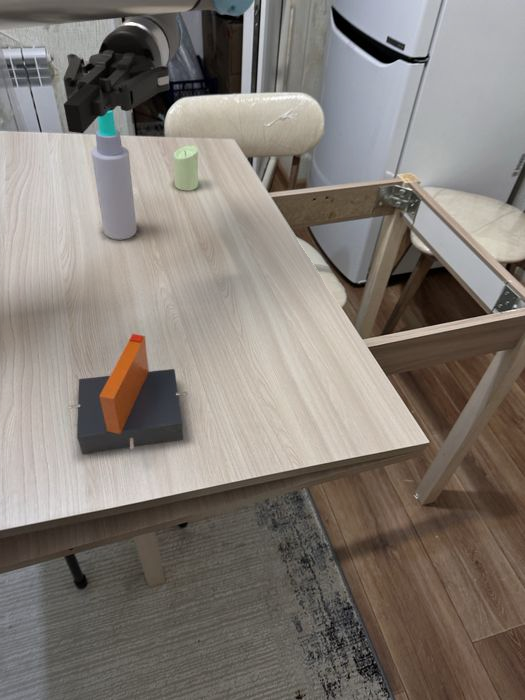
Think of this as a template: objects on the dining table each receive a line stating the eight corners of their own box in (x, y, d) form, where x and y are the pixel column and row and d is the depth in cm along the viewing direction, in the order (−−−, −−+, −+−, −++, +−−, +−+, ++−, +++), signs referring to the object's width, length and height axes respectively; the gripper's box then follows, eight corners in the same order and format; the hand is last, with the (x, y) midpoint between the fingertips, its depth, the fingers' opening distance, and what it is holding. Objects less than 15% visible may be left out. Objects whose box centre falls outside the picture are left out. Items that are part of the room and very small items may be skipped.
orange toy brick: (120, 434, 56) (113, 397, 51) (107, 431, 56) (98, 394, 51) (148, 372, 63) (144, 334, 58) (136, 369, 63) (132, 332, 58)
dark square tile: (71, 474, 56) (65, 457, 53) (75, 382, 65) (70, 363, 63) (194, 456, 59) (194, 439, 56) (181, 371, 69) (180, 353, 66)
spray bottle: (101, 225, 93) (82, 103, 77) (133, 221, 95) (121, 102, 79) (106, 242, 89) (87, 117, 73) (139, 238, 91) (127, 116, 75)
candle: (178, 191, 105) (177, 154, 99) (172, 181, 108) (171, 144, 102) (200, 189, 106) (200, 152, 101) (194, 179, 109) (194, 142, 104)
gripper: (182, 92, 69) (139, 162, 52) (91, 80, 69) (19, 147, 52) (181, 30, 64) (133, 87, 47) (83, 17, 64) (-1, 70, 47)
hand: (73, 119), depth 50 cm, fingers closed
